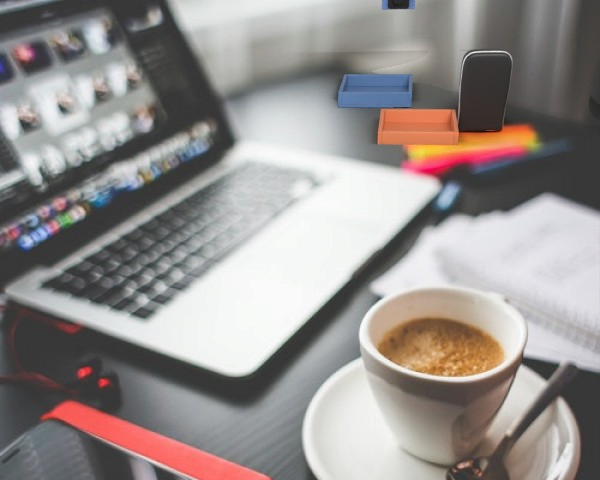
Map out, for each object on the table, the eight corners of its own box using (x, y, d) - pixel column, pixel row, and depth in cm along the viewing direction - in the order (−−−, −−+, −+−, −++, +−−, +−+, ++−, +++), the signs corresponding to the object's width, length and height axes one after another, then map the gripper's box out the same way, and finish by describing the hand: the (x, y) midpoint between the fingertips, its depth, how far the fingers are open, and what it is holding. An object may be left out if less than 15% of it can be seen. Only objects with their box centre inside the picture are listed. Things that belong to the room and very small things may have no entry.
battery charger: (499, 124, 96) (511, 45, 90) (503, 132, 93) (515, 52, 87) (453, 124, 97) (461, 46, 90) (455, 133, 94) (464, 53, 87)
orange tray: (453, 125, 97) (455, 109, 95) (457, 149, 88) (459, 132, 87) (380, 124, 98) (381, 108, 97) (377, 148, 90) (377, 131, 89)
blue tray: (411, 88, 113) (412, 74, 112) (411, 107, 104) (412, 92, 103) (344, 88, 115) (344, 74, 114) (338, 107, 106) (338, 92, 105)
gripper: (434, -139, 80) (423, 15, 90) (431, -139, 94) (422, -5, 104) (375, -136, 81) (371, 16, 91) (380, -136, 95) (377, -5, 105)
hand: (398, 3), depth 98 cm, fingers closed on blue block, 5 cm apart
